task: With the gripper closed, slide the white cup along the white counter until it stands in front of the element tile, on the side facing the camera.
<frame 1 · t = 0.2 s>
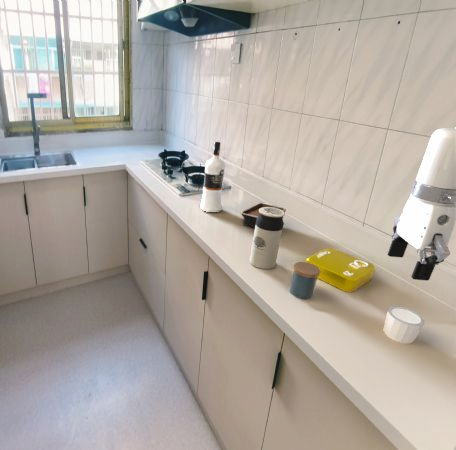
hand: (406, 267, 74), 17 cm above the worktop, tool pointing down, fingers open, 9 cm apart
travel mug: (262, 263, 108), on the worktop
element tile: (336, 274, 104), on the worktop
salt pot: (300, 292, 94), on the worktop
vodka: (210, 210, 151), on the worktop
white cup: (395, 340, 78), on the worktop
baking dish: (261, 227, 135), on the worktop
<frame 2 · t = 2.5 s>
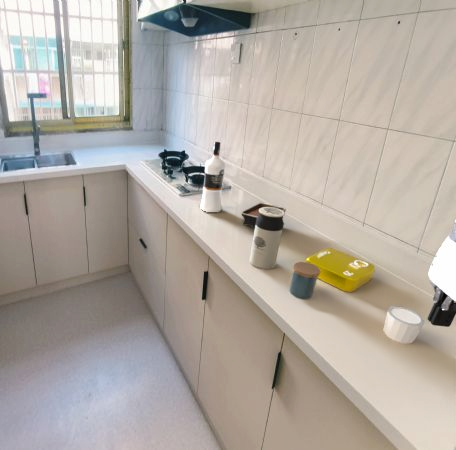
hand: (438, 323, 65), 12 cm above the worktop, tool pointing down, fingers closed
nothing on the worktop moved.
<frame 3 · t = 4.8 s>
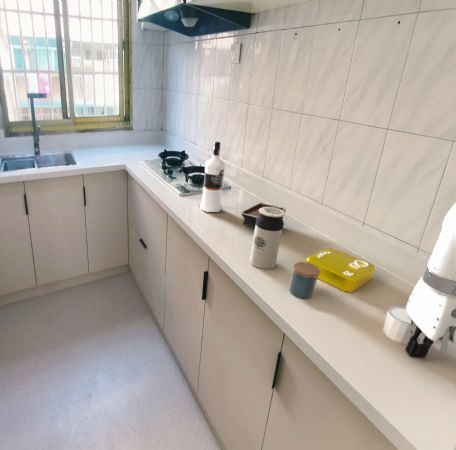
hand: (414, 354, 71), 2 cm above the worktop, tool pointing down, fingers closed
white cup: (395, 340, 78), on the worktop, touching gripper
everything else where it was.
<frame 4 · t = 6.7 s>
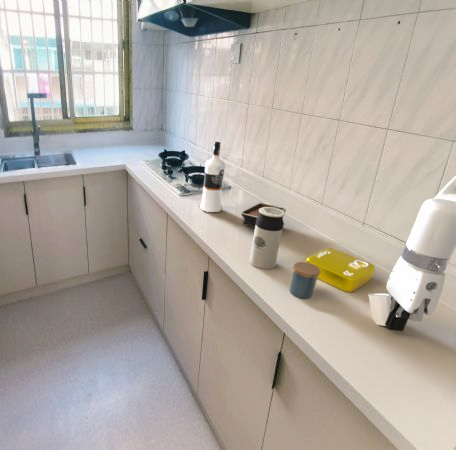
hand: (393, 327, 77), 3 cm above the worktop, tool pointing down, fingers closed
white cup: (387, 324, 81), point 1 cm above the worktop, touching gripper
everything else where it was.
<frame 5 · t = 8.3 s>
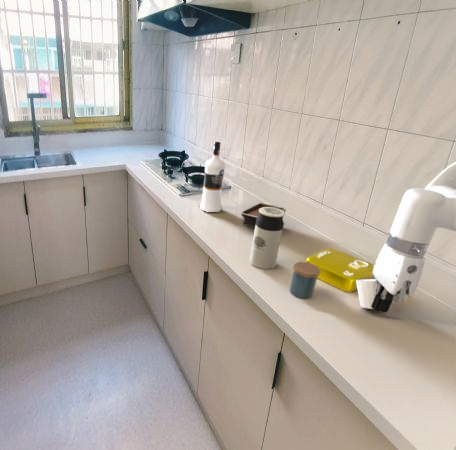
hand: (379, 309, 83), 3 cm above the worktop, tool pointing down, fingers closed
white cup: (373, 308, 87), point 1 cm above the worktop, touching gripper
everything else where it was.
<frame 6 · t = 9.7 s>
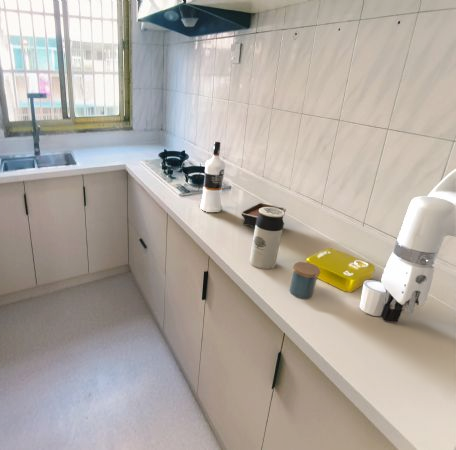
hand: (388, 319, 81), 2 cm above the worktop, tool pointing down, fingers closed
white cup: (371, 310, 88), on the worktop, touching gripper
everything else where it was.
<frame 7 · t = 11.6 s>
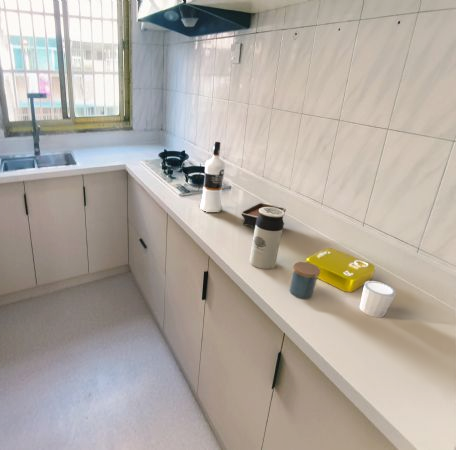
white cup: (371, 311, 88), on the worktop
everything else where it was.
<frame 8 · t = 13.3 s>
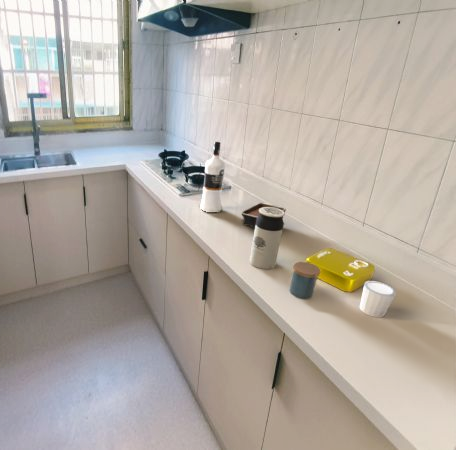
nothing on the worktop moved.
at the end: white cup inside the target area on the worktop beside the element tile (1.0 cm from its centre), on the worktop; white cup tilted 0°; white cup moved 10.7 cm from its start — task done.
